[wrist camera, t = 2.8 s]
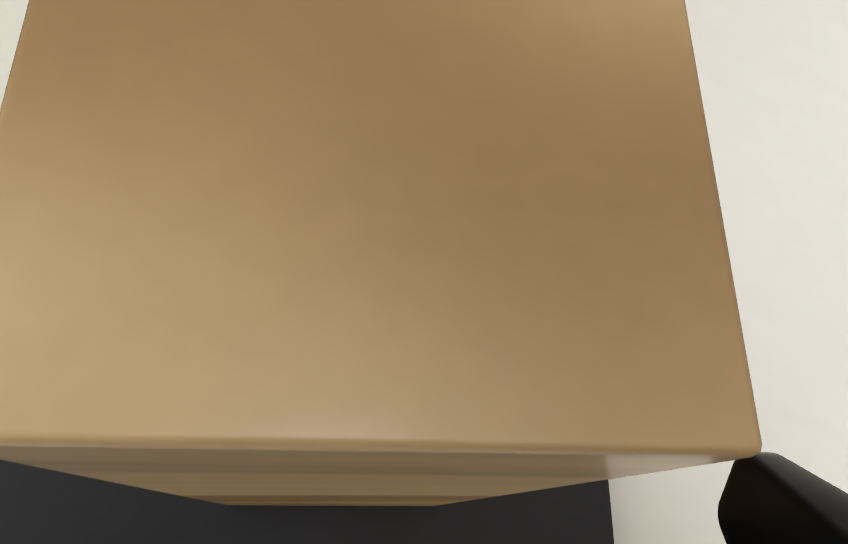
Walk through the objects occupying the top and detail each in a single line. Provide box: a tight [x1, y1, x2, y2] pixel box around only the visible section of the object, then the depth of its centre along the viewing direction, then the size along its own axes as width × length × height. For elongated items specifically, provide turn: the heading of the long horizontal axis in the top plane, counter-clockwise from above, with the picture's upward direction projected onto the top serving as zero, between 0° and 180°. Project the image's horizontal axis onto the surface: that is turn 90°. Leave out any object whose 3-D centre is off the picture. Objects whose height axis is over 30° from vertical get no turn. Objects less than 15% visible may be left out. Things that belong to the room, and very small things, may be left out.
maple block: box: [0, 0, 762, 506], centre depth 11 cm, size 5×5×13 cm
